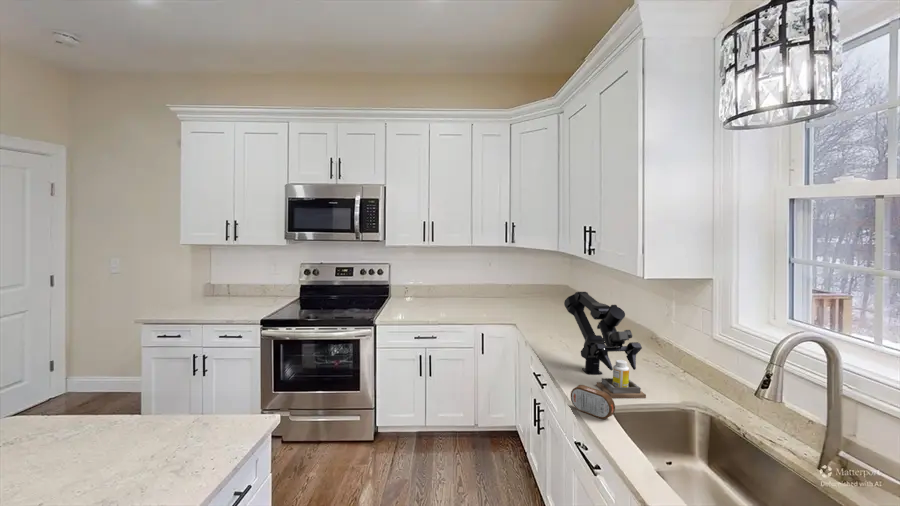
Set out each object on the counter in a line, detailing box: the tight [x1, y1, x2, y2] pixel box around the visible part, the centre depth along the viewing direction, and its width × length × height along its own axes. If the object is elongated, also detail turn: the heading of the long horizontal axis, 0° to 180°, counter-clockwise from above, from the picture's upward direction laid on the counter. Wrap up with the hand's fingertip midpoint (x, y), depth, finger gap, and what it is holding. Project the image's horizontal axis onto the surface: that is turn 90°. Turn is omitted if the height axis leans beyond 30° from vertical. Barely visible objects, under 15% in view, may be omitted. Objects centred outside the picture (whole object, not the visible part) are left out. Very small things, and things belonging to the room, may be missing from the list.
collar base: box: [595, 377, 647, 399], centre depth 166 cm, size 13×13×3 cm
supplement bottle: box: [612, 359, 630, 387], centre depth 166 cm, size 6×6×10 cm
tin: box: [570, 384, 616, 420], centre depth 145 cm, size 15×3×8 cm, turn 42°
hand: (623, 369), depth 164 cm, fingers open, 9 cm apart
